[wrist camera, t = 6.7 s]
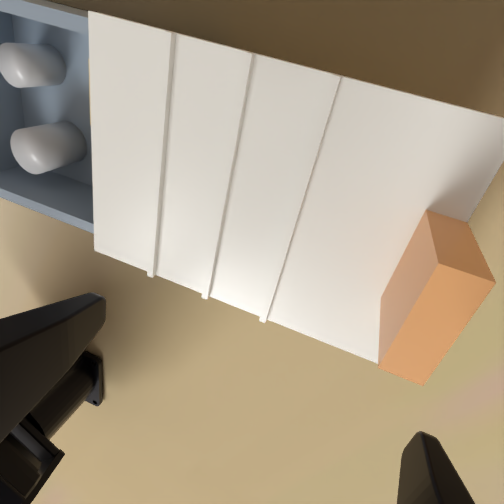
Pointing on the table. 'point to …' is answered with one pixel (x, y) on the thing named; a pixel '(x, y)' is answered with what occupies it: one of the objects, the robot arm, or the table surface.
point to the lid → (291, 191)
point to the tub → (46, 110)
